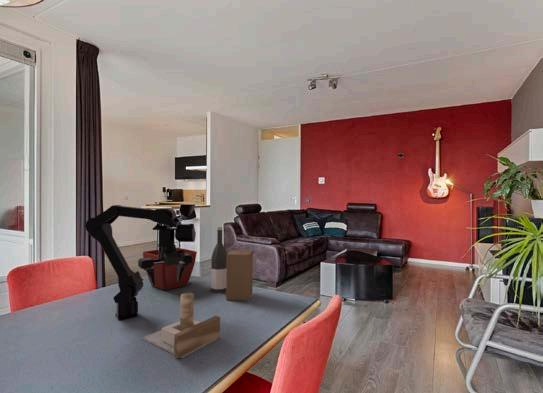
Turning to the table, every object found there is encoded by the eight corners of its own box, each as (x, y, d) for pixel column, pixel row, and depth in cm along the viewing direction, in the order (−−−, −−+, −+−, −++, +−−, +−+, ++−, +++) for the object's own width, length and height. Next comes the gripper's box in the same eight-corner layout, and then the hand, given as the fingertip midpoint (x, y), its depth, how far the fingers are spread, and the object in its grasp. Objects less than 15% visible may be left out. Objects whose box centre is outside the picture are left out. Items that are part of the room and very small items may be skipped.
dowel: (182, 341, 91) (183, 298, 91) (178, 336, 94) (178, 294, 94) (195, 337, 93) (196, 295, 93) (190, 332, 96) (191, 292, 96)
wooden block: (252, 293, 139) (253, 250, 139) (248, 301, 129) (249, 254, 129) (231, 292, 140) (231, 249, 140) (225, 300, 130) (226, 254, 130)
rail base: (140, 340, 94) (140, 319, 94) (181, 322, 107) (182, 304, 107) (178, 359, 84) (179, 336, 83) (219, 337, 97) (220, 317, 97)
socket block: (161, 340, 93) (161, 328, 93) (187, 328, 101) (187, 317, 101) (182, 350, 87) (182, 337, 87) (208, 337, 95) (208, 325, 95)
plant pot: (175, 277, 164) (175, 246, 163) (197, 285, 151) (197, 251, 151) (141, 285, 149) (141, 251, 149) (162, 294, 137) (162, 257, 137)
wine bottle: (224, 293, 139) (225, 228, 139) (207, 291, 141) (208, 227, 141) (230, 287, 147) (230, 226, 147) (214, 286, 149) (215, 225, 149)
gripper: (145, 247, 101) (145, 294, 101) (198, 242, 112) (198, 284, 112) (137, 242, 110) (137, 285, 110) (187, 238, 121) (187, 277, 121)
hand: (166, 283), depth 113 cm, fingers open, 9 cm apart
